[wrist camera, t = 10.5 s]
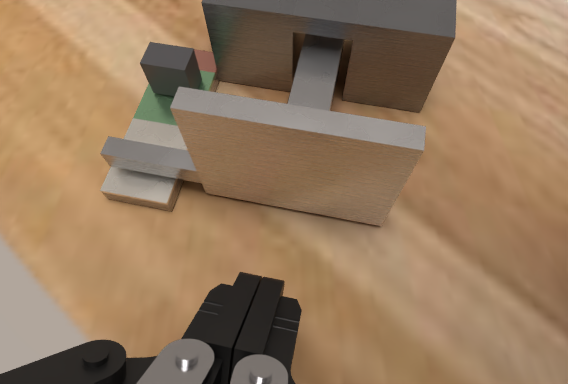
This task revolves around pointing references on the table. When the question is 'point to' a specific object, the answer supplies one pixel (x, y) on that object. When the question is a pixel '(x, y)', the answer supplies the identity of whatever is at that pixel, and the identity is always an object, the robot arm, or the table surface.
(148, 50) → the block
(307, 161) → the push plate
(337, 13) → the gauge base
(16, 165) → the table surface
